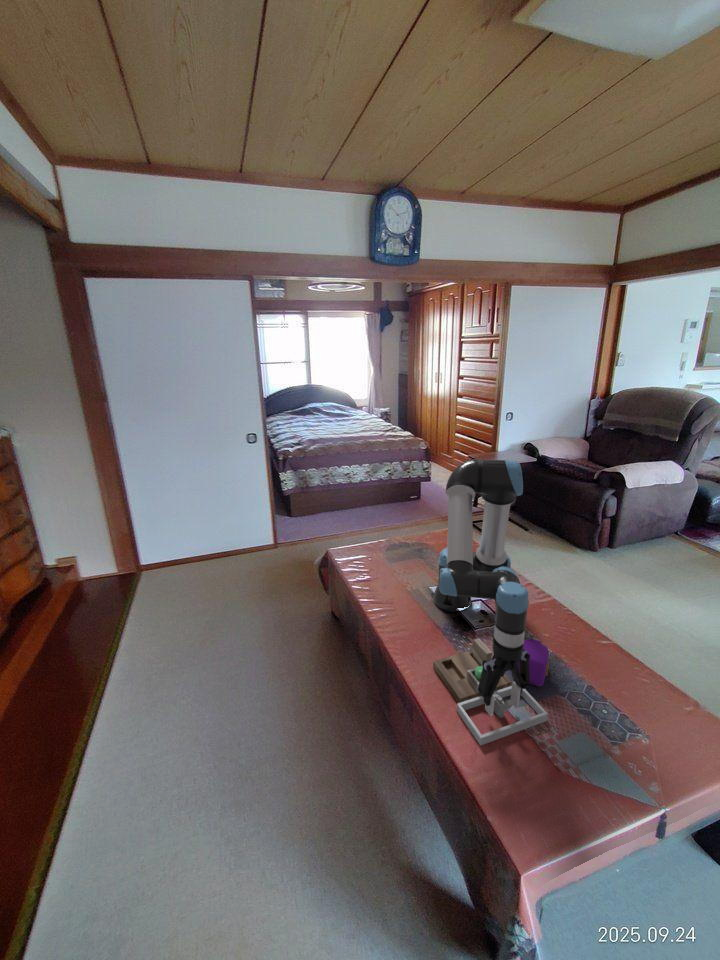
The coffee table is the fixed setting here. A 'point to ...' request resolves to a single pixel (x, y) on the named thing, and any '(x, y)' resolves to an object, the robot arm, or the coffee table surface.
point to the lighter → (501, 705)
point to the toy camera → (536, 661)
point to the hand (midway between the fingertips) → (501, 707)
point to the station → (466, 672)
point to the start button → (478, 672)
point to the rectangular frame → (507, 729)
